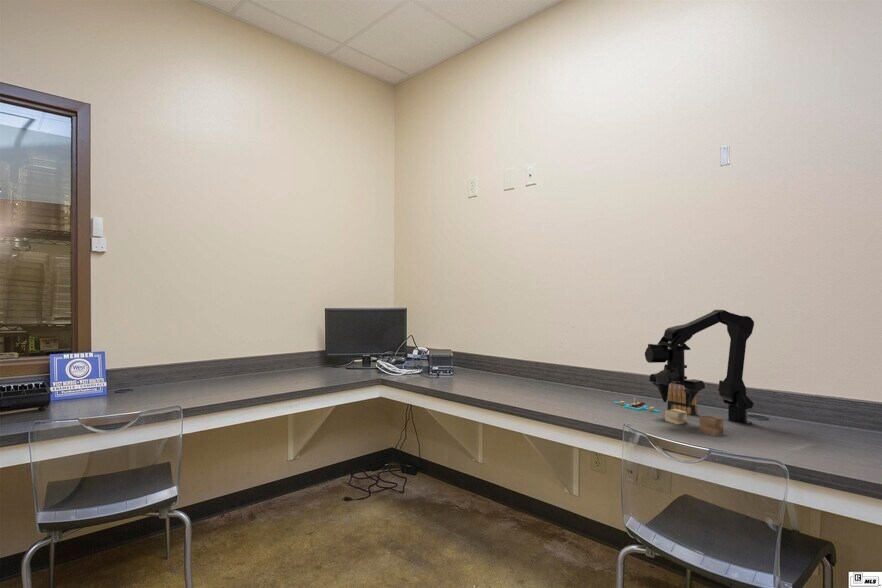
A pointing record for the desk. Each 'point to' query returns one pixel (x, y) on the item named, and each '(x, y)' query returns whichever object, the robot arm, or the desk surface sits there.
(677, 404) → the ammunition clip
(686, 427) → the blueprint board
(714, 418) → the walnut block
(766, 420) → the desk surface
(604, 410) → the desk surface
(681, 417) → the maple block
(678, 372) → the robot arm
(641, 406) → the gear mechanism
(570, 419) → the desk surface
